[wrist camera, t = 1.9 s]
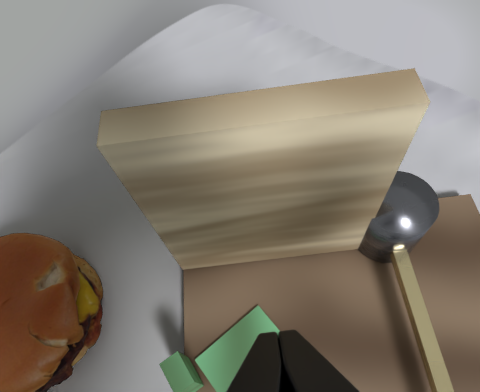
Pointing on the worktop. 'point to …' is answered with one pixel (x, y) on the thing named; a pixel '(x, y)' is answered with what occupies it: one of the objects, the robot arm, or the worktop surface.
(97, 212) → the worktop surface
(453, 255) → the tuner board
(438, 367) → the wood grain plank
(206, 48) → the worktop surface
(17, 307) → the burger
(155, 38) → the worktop surface
